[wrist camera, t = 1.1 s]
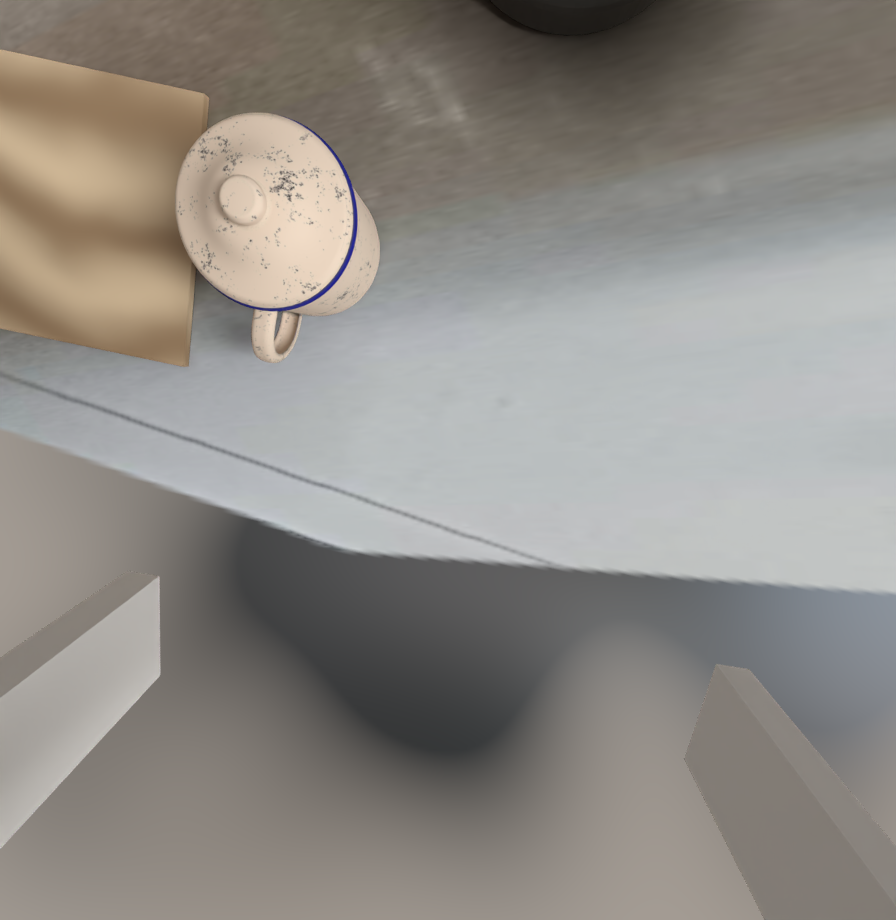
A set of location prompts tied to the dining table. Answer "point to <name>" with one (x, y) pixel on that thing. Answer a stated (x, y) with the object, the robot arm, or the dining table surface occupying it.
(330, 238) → the teacup with lid
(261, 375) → the dining table surface
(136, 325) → the cork mat
